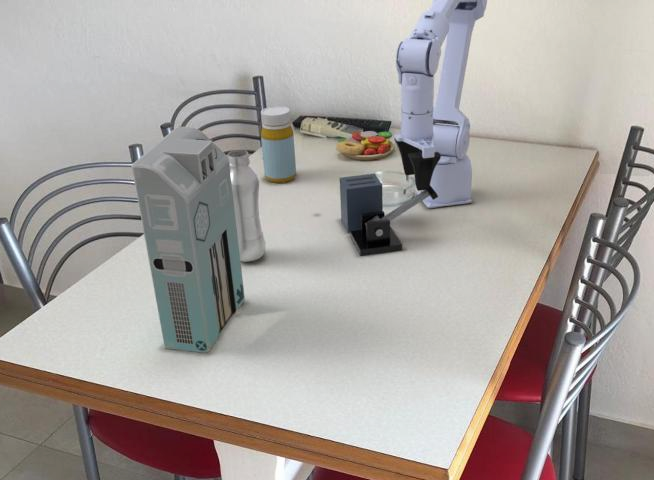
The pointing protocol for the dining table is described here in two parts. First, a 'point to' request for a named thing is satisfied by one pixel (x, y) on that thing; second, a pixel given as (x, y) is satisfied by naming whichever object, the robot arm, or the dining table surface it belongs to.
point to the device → (190, 237)
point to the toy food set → (366, 145)
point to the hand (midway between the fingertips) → (416, 181)
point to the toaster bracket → (375, 235)
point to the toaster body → (359, 199)
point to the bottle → (278, 145)
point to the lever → (408, 205)
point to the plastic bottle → (246, 206)
